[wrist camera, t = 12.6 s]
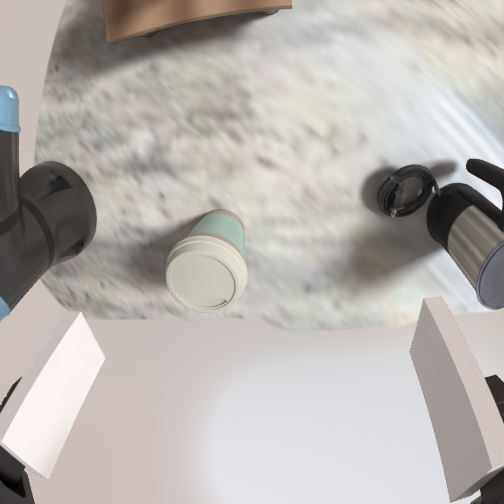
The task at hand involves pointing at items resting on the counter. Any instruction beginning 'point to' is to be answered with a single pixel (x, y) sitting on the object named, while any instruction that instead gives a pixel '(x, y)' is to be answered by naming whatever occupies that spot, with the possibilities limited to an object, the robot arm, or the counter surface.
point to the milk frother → (459, 223)
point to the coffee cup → (209, 264)
